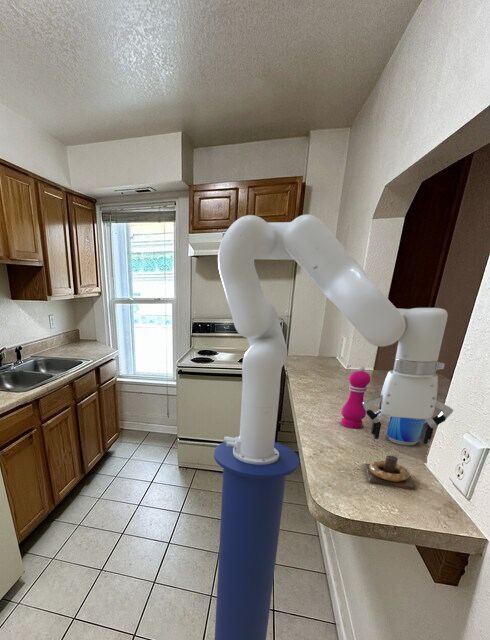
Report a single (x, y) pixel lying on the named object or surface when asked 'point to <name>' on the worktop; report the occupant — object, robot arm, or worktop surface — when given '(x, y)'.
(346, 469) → the worktop surface
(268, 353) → the robot arm
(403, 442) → the beer can
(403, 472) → the ring
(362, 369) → the pepper mill
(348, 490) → the worktop surface
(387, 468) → the peg stand
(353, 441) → the worktop surface
